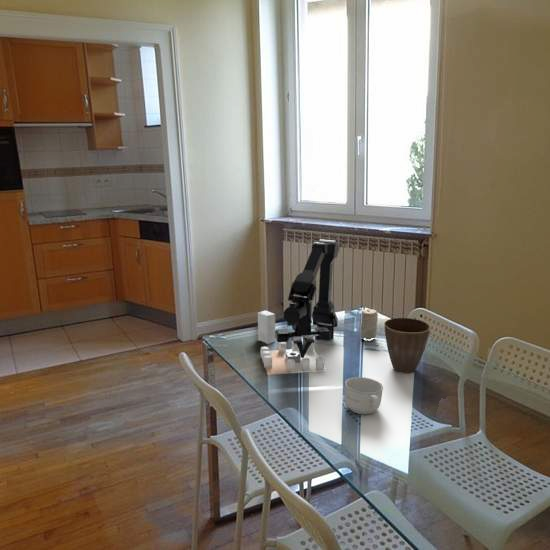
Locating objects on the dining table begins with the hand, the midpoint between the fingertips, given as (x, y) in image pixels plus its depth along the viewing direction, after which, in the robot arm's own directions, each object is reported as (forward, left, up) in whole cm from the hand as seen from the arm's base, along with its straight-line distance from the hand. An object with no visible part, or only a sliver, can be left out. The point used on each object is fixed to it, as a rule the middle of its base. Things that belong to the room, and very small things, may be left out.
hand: (302, 357), depth 179 cm
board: (+4, 0, -2) cm, 4 cm away
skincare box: (+10, -20, -2) cm, 22 cm away
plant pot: (-33, +10, -2) cm, 35 cm away
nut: (+3, 0, -1) cm, 3 cm away
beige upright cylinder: (-30, -18, -2) cm, 35 cm away
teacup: (-10, +36, -2) cm, 37 cm away
